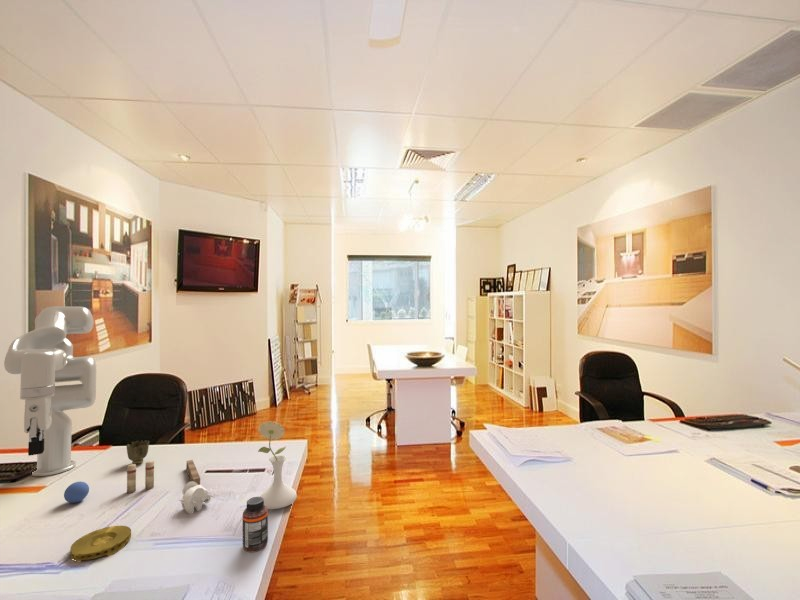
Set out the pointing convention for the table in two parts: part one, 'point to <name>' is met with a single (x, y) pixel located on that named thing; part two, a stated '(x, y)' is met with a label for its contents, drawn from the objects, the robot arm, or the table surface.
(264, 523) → the supplement bottle
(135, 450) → the cup
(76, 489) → the ball
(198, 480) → the wooden plank
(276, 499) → the flower in vase
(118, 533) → the gold brake disc
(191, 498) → the elephant figurine
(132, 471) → the front pin
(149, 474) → the rear pin
